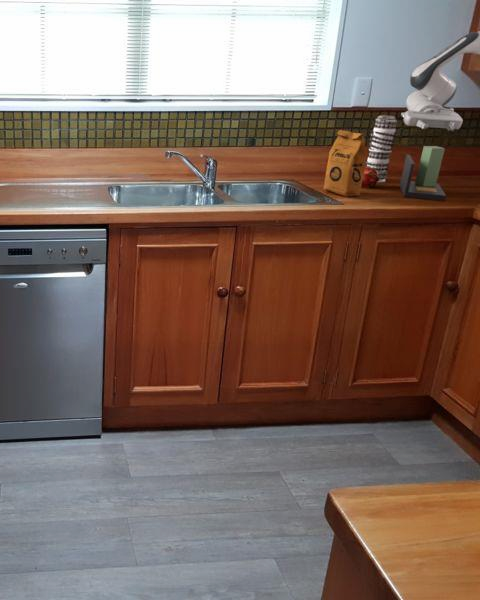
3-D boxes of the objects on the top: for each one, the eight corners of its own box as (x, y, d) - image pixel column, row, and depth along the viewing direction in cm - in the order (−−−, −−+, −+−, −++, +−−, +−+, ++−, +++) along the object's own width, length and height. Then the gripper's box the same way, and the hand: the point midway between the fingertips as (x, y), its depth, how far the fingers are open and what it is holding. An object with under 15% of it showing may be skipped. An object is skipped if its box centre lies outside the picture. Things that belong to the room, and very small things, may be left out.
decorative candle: (391, 182, 243) (405, 117, 233) (370, 182, 242) (383, 117, 232) (377, 177, 251) (390, 114, 242) (357, 177, 250) (369, 114, 240)
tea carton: (427, 183, 232) (436, 146, 227) (435, 186, 227) (444, 148, 222) (415, 183, 232) (423, 146, 226) (423, 186, 227) (432, 148, 222)
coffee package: (342, 198, 215) (354, 134, 207) (318, 190, 226) (329, 129, 218) (364, 196, 219) (377, 133, 210) (339, 189, 229) (351, 129, 221)
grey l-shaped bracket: (437, 188, 233) (445, 157, 228) (444, 201, 214) (453, 166, 209) (399, 185, 237) (406, 154, 233) (403, 197, 219) (411, 163, 214)
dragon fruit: (350, 186, 242) (374, 197, 232) (341, 175, 236) (365, 186, 227) (365, 168, 240) (389, 179, 231) (356, 157, 235) (380, 167, 226)
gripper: (402, 104, 237) (413, 118, 227) (457, 108, 236) (470, 122, 225) (396, 120, 241) (406, 134, 231) (450, 123, 239) (463, 138, 229)
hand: (438, 128), depth 228 cm, fingers open, 8 cm apart
